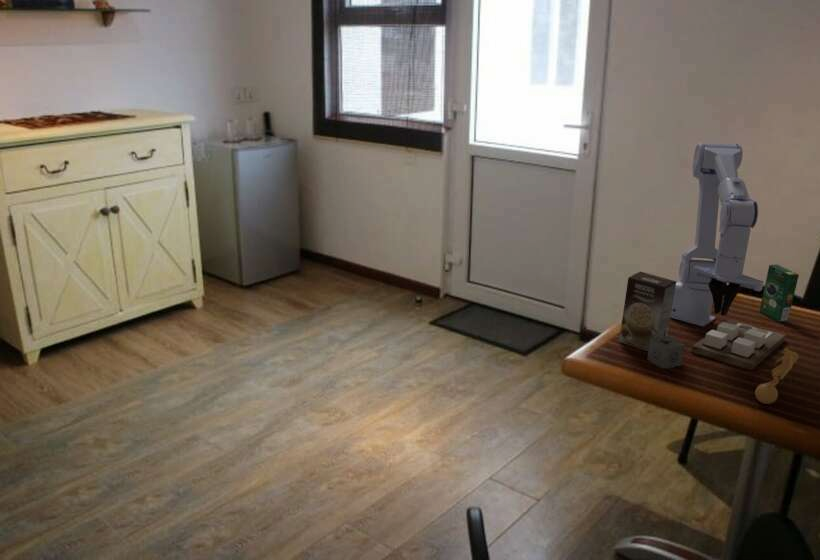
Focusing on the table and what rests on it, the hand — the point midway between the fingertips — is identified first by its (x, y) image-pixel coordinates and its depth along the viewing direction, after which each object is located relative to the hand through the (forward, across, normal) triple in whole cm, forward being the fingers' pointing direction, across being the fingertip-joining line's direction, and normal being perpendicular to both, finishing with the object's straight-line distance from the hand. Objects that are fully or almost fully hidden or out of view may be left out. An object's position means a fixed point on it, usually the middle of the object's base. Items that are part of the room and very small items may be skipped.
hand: (720, 313), depth 162 cm
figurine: (+10, +18, -17) cm, 26 cm away
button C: (+8, 0, 0) cm, 8 cm away
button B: (+8, +6, +7) cm, 12 cm away
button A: (+8, 0, +7) cm, 10 cm away
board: (+9, +3, +8) cm, 12 cm away
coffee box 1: (+10, -14, -8) cm, 18 cm away
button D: (+8, +6, 0) cm, 10 cm away
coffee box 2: (+10, +2, +34) cm, 35 cm away
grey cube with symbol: (+10, -6, -14) cm, 18 cm away
